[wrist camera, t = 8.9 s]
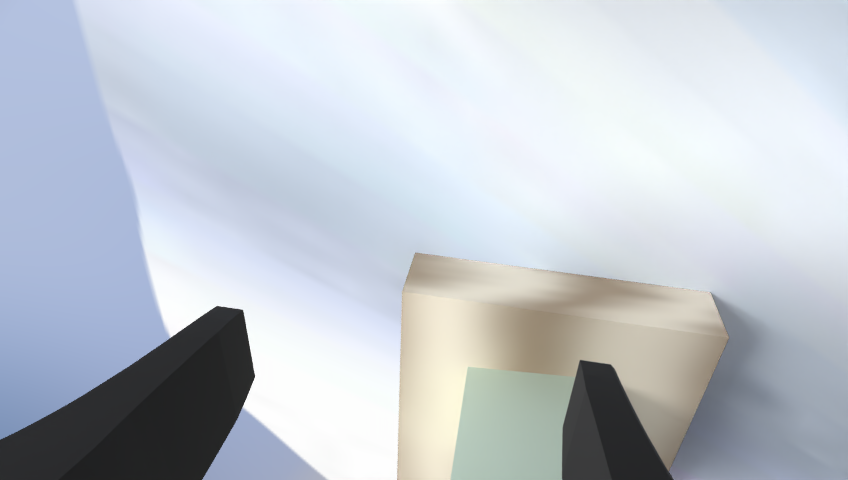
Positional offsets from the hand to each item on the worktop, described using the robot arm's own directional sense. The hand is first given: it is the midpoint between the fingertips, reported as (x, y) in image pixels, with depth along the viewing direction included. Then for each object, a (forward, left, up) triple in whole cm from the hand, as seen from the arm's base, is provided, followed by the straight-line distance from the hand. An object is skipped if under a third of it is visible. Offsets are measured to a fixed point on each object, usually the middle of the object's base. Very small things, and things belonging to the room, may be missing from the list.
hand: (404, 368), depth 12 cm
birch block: (-4, +9, -10) cm, 14 cm away
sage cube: (-4, +9, -7) cm, 12 cm away
